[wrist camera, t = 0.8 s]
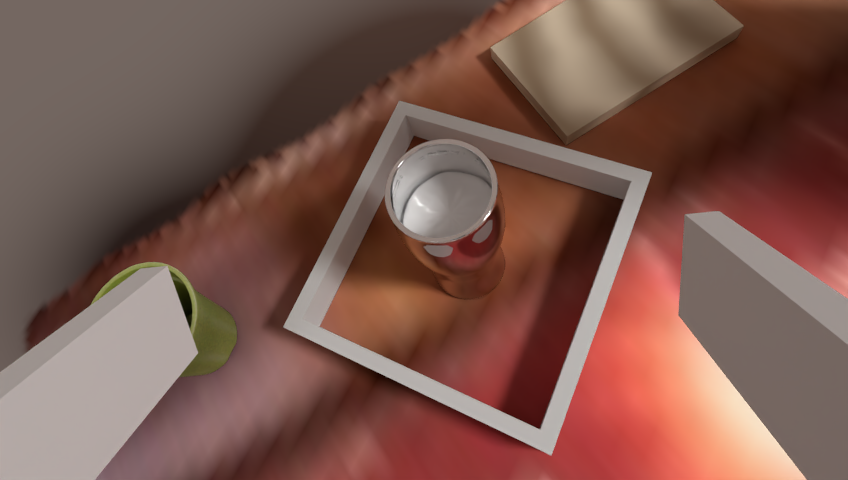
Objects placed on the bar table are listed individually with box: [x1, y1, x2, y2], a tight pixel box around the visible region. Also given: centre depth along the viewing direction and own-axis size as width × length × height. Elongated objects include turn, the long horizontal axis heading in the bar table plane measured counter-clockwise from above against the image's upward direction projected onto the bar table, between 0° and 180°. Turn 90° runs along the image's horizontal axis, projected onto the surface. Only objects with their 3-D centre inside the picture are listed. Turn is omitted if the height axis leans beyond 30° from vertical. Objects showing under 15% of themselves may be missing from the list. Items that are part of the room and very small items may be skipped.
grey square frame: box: [283, 101, 652, 455], centre depth 41 cm, size 22×22×4 cm
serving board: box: [490, 0, 744, 145], centre depth 46 cm, size 18×12×2 cm, turn 120°
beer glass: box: [385, 139, 505, 299], centre depth 36 cm, size 7×7×15 cm
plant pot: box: [91, 262, 237, 377], centre depth 41 cm, size 9×9×9 cm
